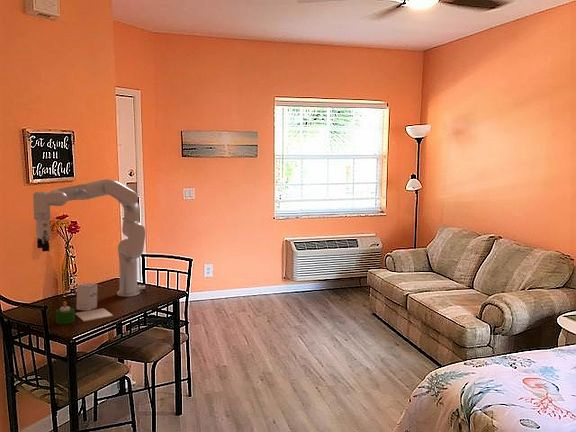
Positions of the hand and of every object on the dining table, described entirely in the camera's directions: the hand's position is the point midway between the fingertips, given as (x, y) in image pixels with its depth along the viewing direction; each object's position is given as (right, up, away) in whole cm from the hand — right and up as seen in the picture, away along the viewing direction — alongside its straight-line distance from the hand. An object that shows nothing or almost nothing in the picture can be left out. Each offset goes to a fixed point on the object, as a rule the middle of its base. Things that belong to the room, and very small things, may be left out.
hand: (43, 249), depth 254 cm
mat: (+28, -32, -5) cm, 43 cm away
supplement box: (+21, -31, +3) cm, 38 cm away
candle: (+18, -34, -15) cm, 41 cm away
